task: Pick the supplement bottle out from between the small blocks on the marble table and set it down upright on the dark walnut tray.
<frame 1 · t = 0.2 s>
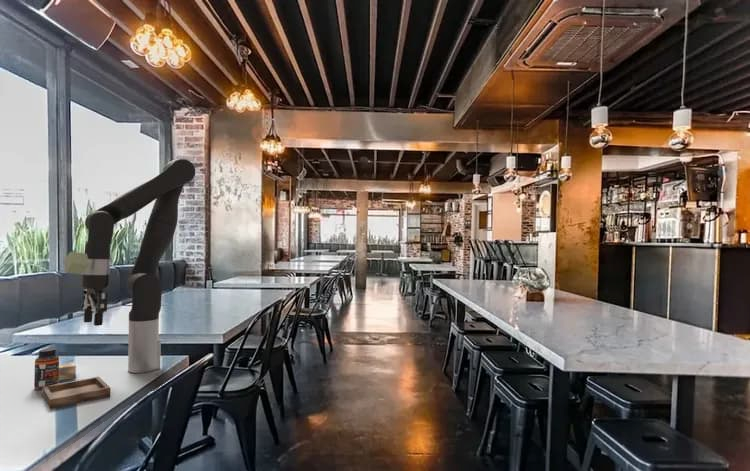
hand: (92, 323, 143), 18 cm above the table, tool pointing down, fingers open, 8 cm apart
supplement bottle: (46, 387, 134), on the table
beech block: (66, 378, 144), on the table
olive block: (77, 268, 132), point 36 cm above the table, tilted 44°
walnut tray: (76, 395, 127), on the table
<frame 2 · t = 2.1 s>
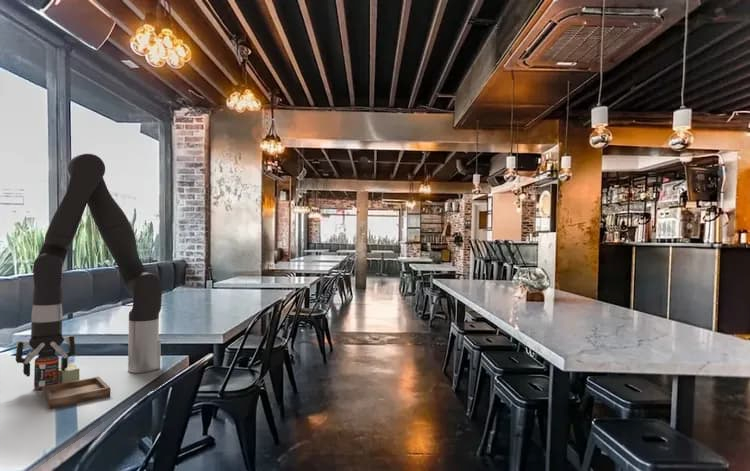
hand: (45, 373, 134), 4 cm above the table, tool pointing down, fingers open, 8 cm apart
olive block: (68, 368, 138), point 4 cm above the table, tilted 180°, touching gripper
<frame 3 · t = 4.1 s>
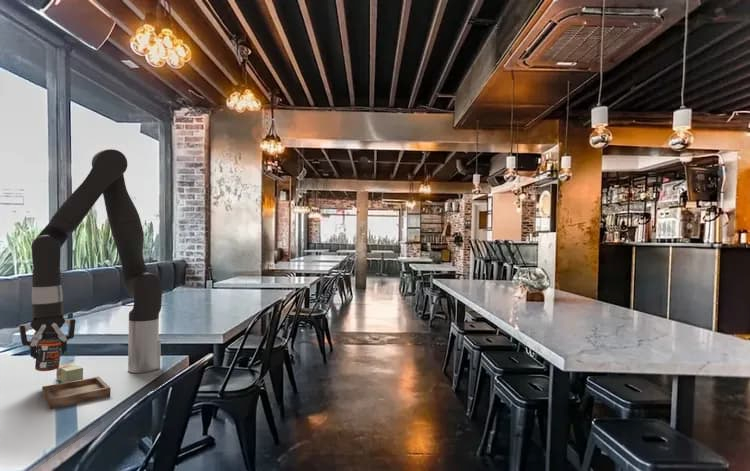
hand: (48, 355, 135), 9 cm above the table, tool pointing down, fingers closed on supplement bottle, 6 cm apart
supplement bottle: (47, 369, 135), point 5 cm above the table, touching gripper
olive block: (72, 368, 139), point 4 cm above the table, tilted 180°
when the fingers open (5 cm above the table, at t = 9.1 s): supplement bottle stays where it is, resting on walnut tray.
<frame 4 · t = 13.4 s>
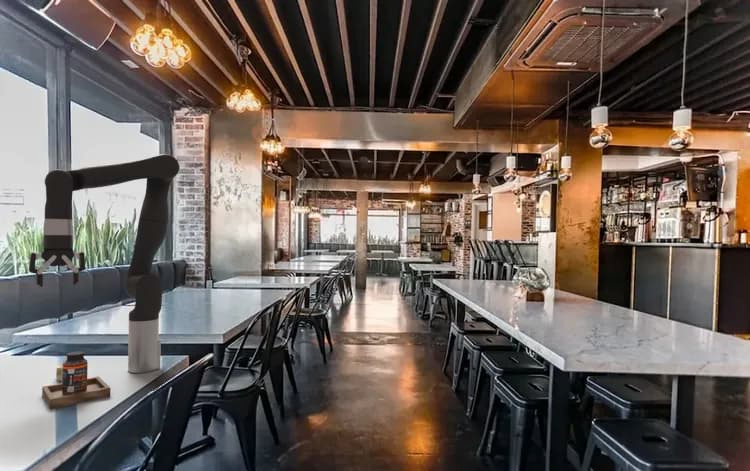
hand: (57, 285, 140), 30 cm above the table, tool pointing down, fingers open, 8 cm apart
supplement bottle: (74, 393, 127), point 1 cm above the table, touching walnut tray
at the end: supplement bottle inside the target area on the walnut tray (0.4 cm from its centre), point 0.8 cm above the walnut tray's base; supplement bottle tilted 0°; the gripper is holding nothing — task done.
